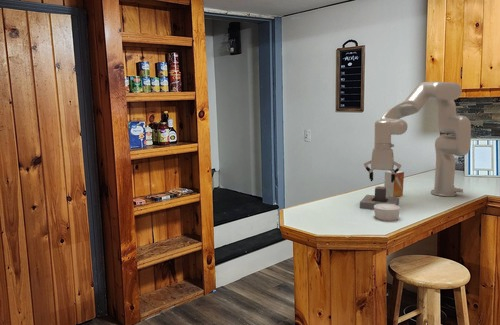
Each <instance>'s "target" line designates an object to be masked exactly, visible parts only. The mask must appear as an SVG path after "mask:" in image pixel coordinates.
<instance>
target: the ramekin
mask: <svg viewBox="0 0 500 325" xmlns="http://www.w3.org/2000/svg"><path fill="white" fill-rule="evenodd" d="M373 211H374V215H375V218H376V219H378V220H380V221H387V222H389V221H393V222H394V221H396V220H397V219H398V218H399V217H400V213H401V212H400V211H401V206H399V205H394V204H376V205H374V210H373Z"/></svg>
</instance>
